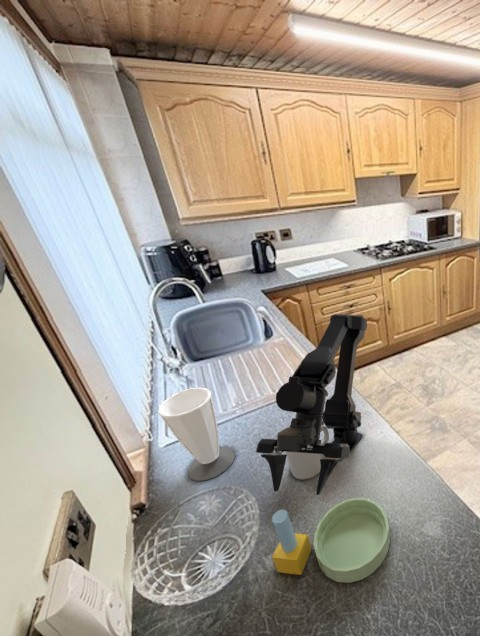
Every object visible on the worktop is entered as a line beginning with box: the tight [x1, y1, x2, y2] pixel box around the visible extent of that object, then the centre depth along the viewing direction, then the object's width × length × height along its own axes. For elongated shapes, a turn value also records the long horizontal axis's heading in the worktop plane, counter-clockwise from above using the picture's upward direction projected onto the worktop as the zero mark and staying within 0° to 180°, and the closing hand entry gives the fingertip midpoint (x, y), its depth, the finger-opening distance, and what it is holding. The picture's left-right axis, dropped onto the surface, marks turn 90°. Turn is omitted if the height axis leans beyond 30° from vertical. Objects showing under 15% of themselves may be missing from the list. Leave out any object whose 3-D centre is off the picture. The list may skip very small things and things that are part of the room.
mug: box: [285, 425, 330, 481], centre depth 92 cm, size 12×8×11 cm
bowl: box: [313, 497, 391, 584], centre depth 73 cm, size 15×15×4 cm
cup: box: [157, 386, 236, 482], centre depth 90 cm, size 12×12×22 cm
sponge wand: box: [271, 509, 313, 576], centre depth 68 cm, size 5×5×14 cm
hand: (296, 493), depth 72 cm, fingers open, 9 cm apart
